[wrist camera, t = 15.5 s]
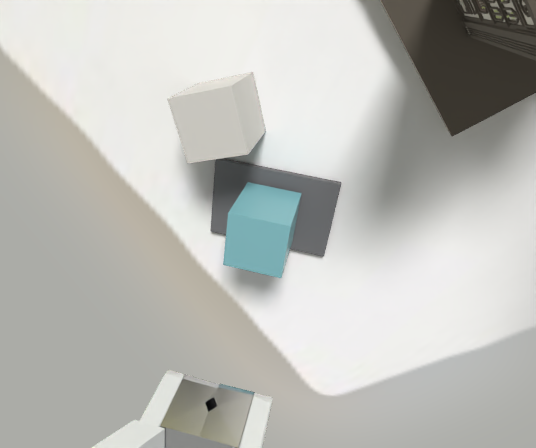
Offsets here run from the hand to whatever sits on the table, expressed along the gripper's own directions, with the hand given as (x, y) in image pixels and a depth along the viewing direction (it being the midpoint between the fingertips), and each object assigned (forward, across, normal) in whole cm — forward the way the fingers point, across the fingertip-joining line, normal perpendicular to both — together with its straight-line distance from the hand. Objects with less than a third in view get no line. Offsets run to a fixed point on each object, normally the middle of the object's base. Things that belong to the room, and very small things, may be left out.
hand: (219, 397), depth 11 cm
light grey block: (+29, +8, 0) cm, 30 cm away
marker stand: (+29, +3, +9) cm, 31 cm away
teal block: (+28, +3, +9) cm, 30 cm away
